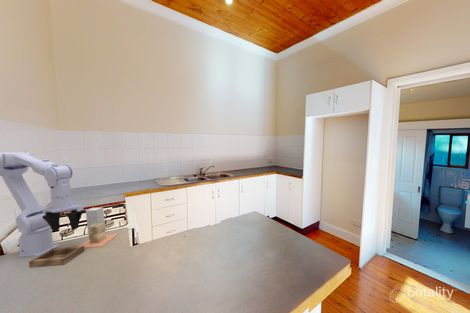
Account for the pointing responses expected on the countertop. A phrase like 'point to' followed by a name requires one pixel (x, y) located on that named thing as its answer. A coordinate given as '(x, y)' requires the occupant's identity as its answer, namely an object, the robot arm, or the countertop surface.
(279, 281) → the countertop surface
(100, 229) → the maple block
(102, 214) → the skincare box
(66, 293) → the countertop surface
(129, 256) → the countertop surface
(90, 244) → the terracotta tile
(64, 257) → the walnut pocket
